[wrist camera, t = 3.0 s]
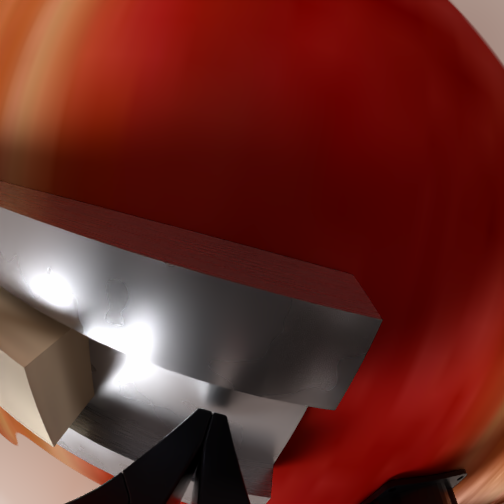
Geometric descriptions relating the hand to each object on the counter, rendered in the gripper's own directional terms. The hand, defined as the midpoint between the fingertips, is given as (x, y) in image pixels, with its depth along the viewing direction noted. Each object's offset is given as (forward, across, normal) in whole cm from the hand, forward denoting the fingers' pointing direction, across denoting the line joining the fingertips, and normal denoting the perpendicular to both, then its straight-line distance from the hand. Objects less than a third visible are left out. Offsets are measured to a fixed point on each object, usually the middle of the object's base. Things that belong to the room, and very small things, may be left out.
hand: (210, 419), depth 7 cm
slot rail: (+2, +7, 0) cm, 8 cm away
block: (0, +6, 0) cm, 6 cm away
